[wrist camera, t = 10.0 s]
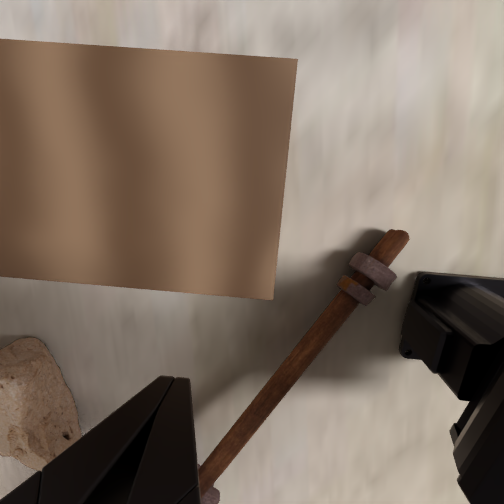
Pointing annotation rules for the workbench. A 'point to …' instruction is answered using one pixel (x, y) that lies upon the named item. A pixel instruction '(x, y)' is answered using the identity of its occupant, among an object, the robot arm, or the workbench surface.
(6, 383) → the stone
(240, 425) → the hammer
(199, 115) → the plate
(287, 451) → the workbench surface
